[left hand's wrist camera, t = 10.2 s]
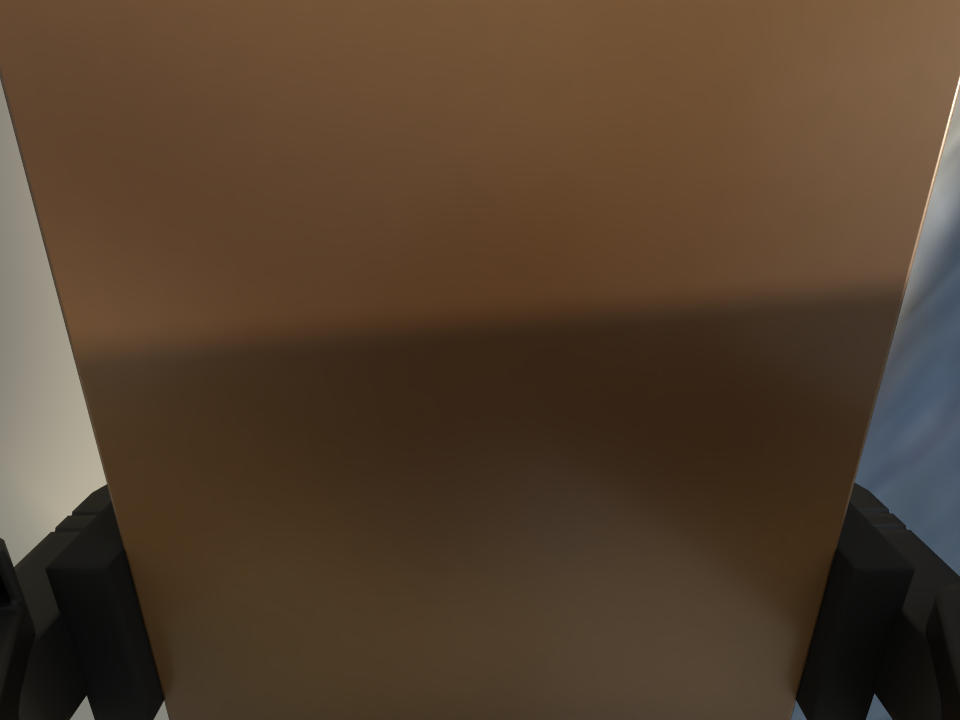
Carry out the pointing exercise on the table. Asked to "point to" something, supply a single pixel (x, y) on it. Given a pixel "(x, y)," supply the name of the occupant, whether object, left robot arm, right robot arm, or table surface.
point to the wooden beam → (480, 332)
